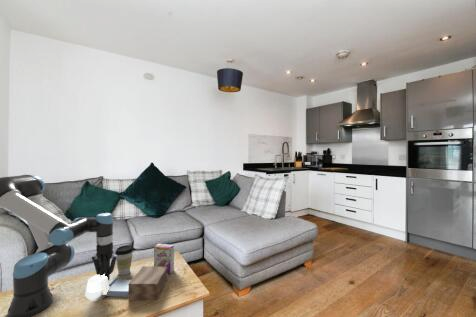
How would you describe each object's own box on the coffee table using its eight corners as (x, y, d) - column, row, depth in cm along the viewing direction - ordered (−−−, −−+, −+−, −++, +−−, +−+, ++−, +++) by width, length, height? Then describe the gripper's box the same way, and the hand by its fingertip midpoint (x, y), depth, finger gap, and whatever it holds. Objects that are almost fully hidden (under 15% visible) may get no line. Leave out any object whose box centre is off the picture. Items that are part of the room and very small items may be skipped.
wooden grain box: (128, 300, 106) (128, 283, 106) (142, 280, 122) (142, 266, 122) (156, 300, 106) (156, 283, 106) (167, 280, 122) (167, 266, 122)
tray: (101, 296, 109) (101, 288, 109) (113, 284, 119) (113, 277, 119) (128, 297, 109) (128, 289, 109) (138, 285, 119) (138, 277, 119)
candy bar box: (153, 272, 131) (153, 246, 130) (157, 268, 135) (158, 243, 135) (170, 274, 129) (170, 248, 128) (174, 270, 134) (174, 244, 133)
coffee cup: (125, 277, 125) (125, 252, 125) (111, 275, 127) (111, 250, 126) (136, 269, 134) (136, 245, 134) (123, 267, 136) (123, 244, 136)
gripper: (87, 245, 109) (88, 291, 110) (113, 245, 109) (113, 291, 110) (97, 240, 117) (97, 282, 117) (120, 240, 117) (121, 282, 117)
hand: (105, 286), depth 113 cm, fingers closed
